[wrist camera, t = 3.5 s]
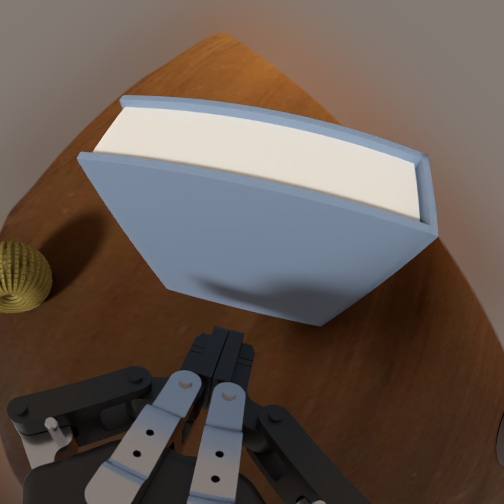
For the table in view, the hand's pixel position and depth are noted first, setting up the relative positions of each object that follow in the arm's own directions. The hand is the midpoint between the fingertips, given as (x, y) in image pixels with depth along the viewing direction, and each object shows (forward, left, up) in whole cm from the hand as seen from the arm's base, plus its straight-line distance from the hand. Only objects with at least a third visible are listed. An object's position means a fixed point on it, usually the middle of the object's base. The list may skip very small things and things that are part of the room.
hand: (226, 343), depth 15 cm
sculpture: (+16, -8, -7) cm, 20 cm away
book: (-3, -4, -6) cm, 8 cm away
